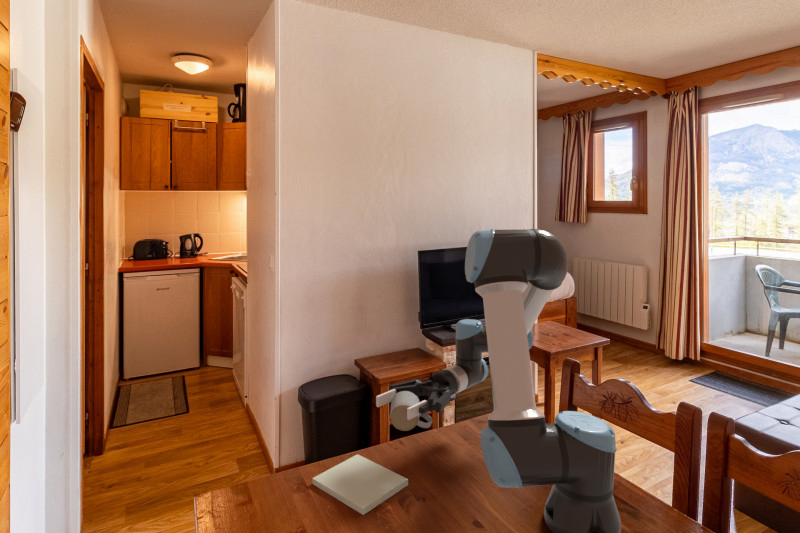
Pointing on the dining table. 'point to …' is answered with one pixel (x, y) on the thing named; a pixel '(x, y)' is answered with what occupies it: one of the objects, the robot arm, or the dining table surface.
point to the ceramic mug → (400, 412)
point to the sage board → (360, 483)
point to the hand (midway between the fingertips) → (392, 407)
